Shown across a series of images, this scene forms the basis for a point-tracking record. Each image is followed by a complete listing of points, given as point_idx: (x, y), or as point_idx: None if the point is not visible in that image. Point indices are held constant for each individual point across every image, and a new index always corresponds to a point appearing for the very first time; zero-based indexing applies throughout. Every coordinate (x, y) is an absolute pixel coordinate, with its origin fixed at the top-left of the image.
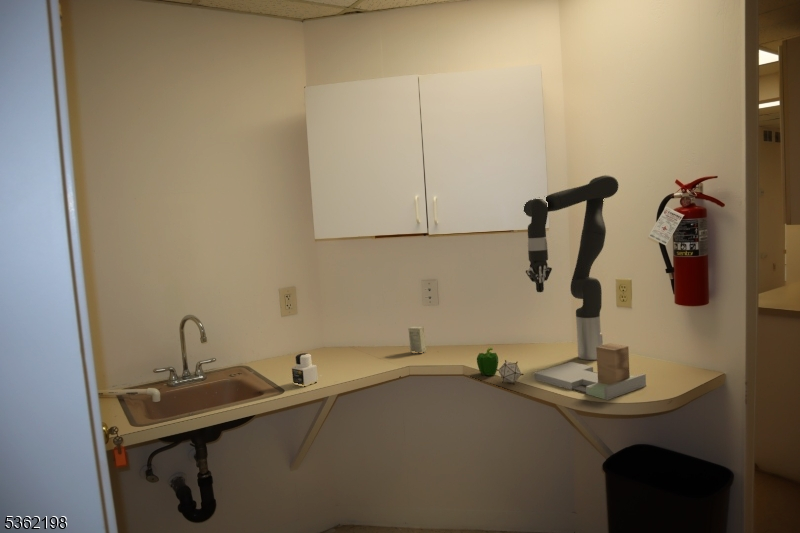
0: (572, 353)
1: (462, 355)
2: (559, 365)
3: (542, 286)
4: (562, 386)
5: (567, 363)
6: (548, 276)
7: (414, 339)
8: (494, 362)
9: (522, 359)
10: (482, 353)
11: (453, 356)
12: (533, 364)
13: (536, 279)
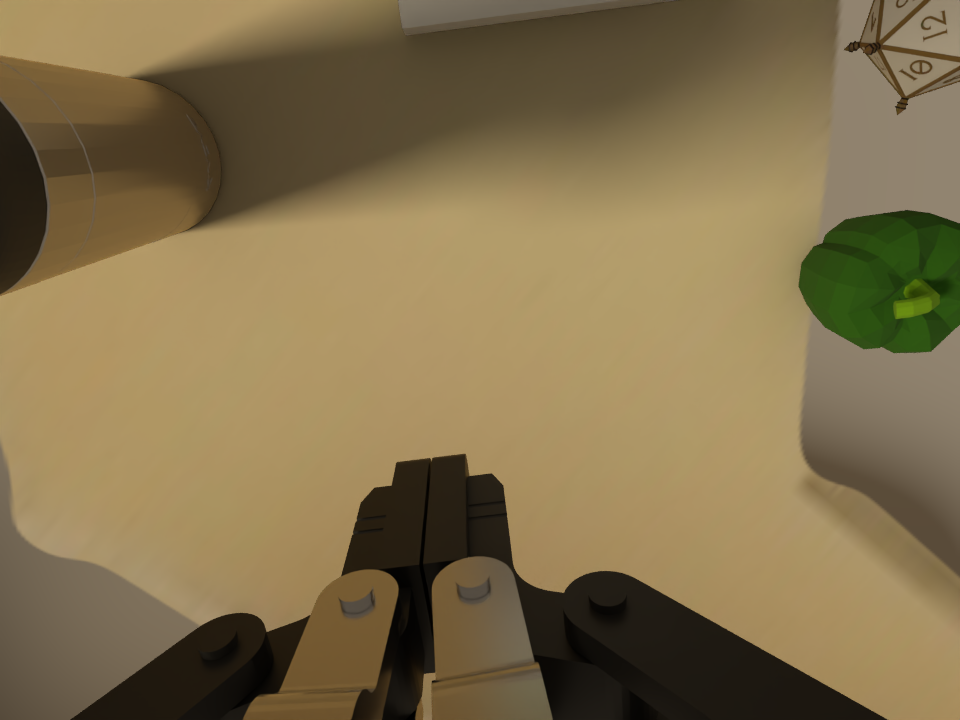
0: (181, 307)
1: None
2: (524, 8)
3: (405, 515)
4: None
5: (450, 11)
6: (85, 717)
7: None
8: (904, 214)
9: (503, 386)
10: (930, 327)
11: None
12: (526, 262)
13: (635, 623)
